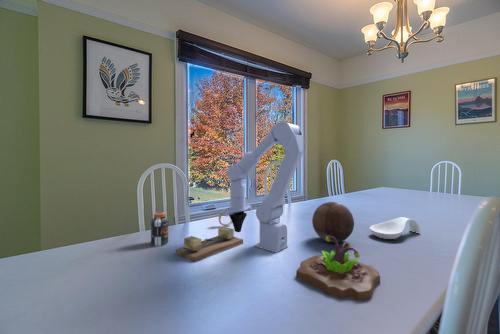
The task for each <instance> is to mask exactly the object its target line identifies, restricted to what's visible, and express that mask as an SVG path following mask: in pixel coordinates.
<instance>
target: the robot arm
mask: <svg viewBox="0 0 500 334" xmlns="http://www.w3.org/2000/svg"><path fill="white" fill-rule="evenodd" d="M303 136H304V133H303V131H302V130H301V128H300V126H299V125H297V124H295V123H289V122H287V121H284V120H281V121H277V122H276V124H274V126H273V127H271V128H270V129H269V131H268V133H267V134H266V136H265V137H264V138H263V139H262V141H261V142H260V143H259V144H258V145H257V146H256V147H255V149H254V150H253V151H248V152H244V154H243V157H241V159H240V160H239V161H238V160H237V162H235V163H236V164H235V165H234V164H233V165H230V166H229V167H228V169H227V177H228V179H229V180H230V185H229V187H230V188H229V189H230V206H229V207H228V208H225V209H226V210H224V209H222V210H223V215H222V216H221V217H229V218H230V221H231V220H232V223H231V224H232V226H233V229H234V232H235V233H240V232H241V231H242V227H243V225H244V221H245V219H246V218H247V216H248V215H247V212H248V211H252V209H253V208H252V205H249V204H247V205H246V183H247V179H248V177H249V173H250V172H251V171H252V170H253V169H254V168H256V167H257V166H258V164H260V158H262V156H264V154H265V153H267V152H268V151H269V150H270V149H272V147H274V146H275V145H279V144H280V145H281V147H282V149H283V150H284V156H283V158H282V161H281V163H280V166H279V168H278V171H277V172H276V175H275V178H274V180H273V183H272V185H271V187H270V190H269V192H268V194H267V195H266V197H264V199H263V200H262V202H261V203H260V205H258V206H257V207H256V210H255V215H256V218H257V220H258V222H259V241H258V243H256V244H255V243H254V247H257V248H259V249H262V250H267V251H269V252H273V253H279V252H280V251H282V250H284V249H286V248H288V247H289V244H288V228H287V225H286V224H284V223H281V217H282V216H283V213H284V206H285V201H284V198H285V195H286V194H287V193H286V192H287V191H288V189H289V186H290V183H291V182H292V180H293V178H294V175H295V173H296V170H297V168H298V165H299V164H300V161H301V158H302V156H303V152H304V148H303Z"/></svg>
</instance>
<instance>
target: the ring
mask: <svg viewBox="0 0 500 334" xmlns="http://www.w3.org/2000/svg"><path fill="white" fill-rule="evenodd" d="M226 209H227V208H224V209H222V210H221V211H220V212H219V215H218V222H219V224H220V225H221V226H222V227H226V226H227V227H228V226H230V225H232V224H233V223H232V220H231V219H230V222H229V223H225V224H224V223H223V222H222V221H221V218H222V217H223V216H222V215H223V210H226Z"/></svg>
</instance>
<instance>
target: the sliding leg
mask: <svg viewBox="0 0 500 334" xmlns="http://www.w3.org/2000/svg"><path fill="white" fill-rule="evenodd" d="M217 231H218V232H217V236H219V237H222V238H225V239H230V238H233V237H235V236H234V235H235V233H234V232H235V230H234V228H231V227H228V226H227V227H226V226H221V227H218V229H217Z"/></svg>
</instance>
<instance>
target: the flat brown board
mask: <svg viewBox="0 0 500 334" xmlns="http://www.w3.org/2000/svg"><path fill="white" fill-rule="evenodd" d="M243 244H244V239H243V238H239V237H236V236H234V237H233V238H230V239H225V238H222V237H219V236H218V235H217V236H213V237H211V238H206V239H204V240H202V238H199V237H196V236H193V235H190V236H187V237H184V238H183V246H182V247H178V248H176V249H175V255H177V256H180V257H181V258H184V259H186V260H188V261H192V262H194V263H197V262H199V261H202V260H205V259H207V258H210V257H212V256H214V255H215V256H216V255H218V254H219V253H222V252H225V251H227V250H230V249H233V248H235V247H238V246H240V245H243Z"/></svg>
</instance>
